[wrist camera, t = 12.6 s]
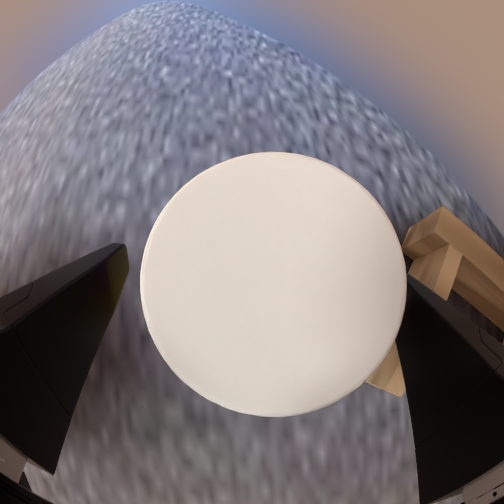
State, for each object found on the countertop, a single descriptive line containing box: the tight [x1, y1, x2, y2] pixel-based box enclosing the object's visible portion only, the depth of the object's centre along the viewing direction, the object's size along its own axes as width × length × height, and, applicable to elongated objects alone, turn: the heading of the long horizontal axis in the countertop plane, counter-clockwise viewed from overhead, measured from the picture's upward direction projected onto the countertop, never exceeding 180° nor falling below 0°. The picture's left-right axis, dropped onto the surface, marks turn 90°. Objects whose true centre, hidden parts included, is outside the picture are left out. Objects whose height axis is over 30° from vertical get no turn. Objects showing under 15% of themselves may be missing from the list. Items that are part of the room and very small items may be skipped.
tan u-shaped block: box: [365, 206, 504, 397], centre depth 16 cm, size 11×16×4 cm
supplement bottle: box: [140, 152, 407, 417], centre depth 11 cm, size 7×7×13 cm
